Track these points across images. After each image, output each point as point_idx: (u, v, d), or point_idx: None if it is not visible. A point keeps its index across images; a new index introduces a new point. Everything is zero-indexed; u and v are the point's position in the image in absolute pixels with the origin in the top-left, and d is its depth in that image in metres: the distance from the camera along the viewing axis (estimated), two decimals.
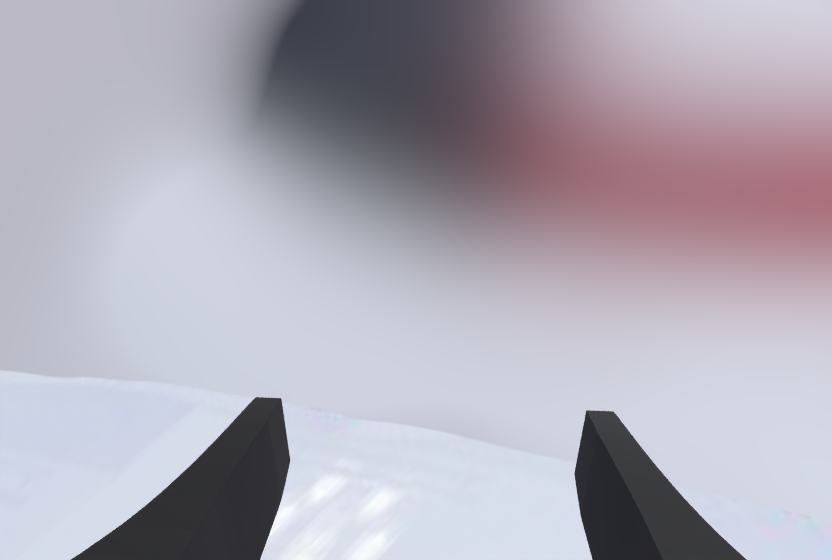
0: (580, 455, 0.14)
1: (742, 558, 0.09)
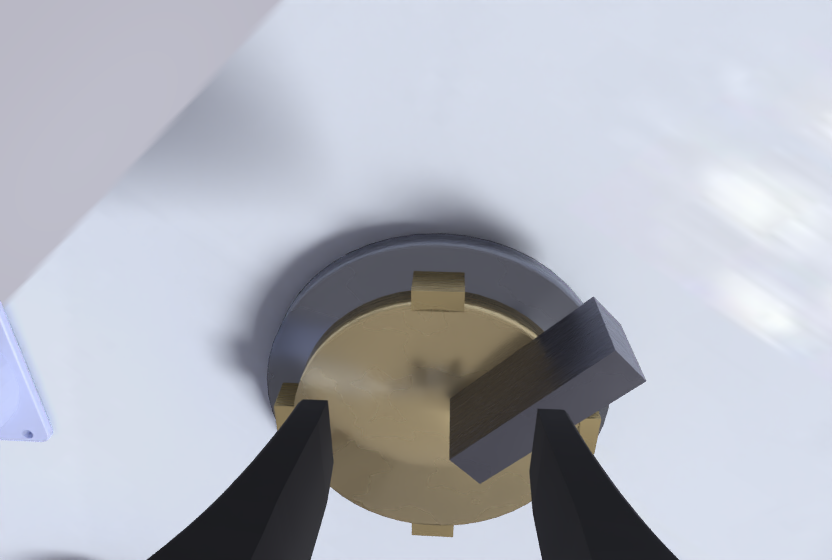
0: (533, 453, 0.14)
1: (670, 554, 0.09)
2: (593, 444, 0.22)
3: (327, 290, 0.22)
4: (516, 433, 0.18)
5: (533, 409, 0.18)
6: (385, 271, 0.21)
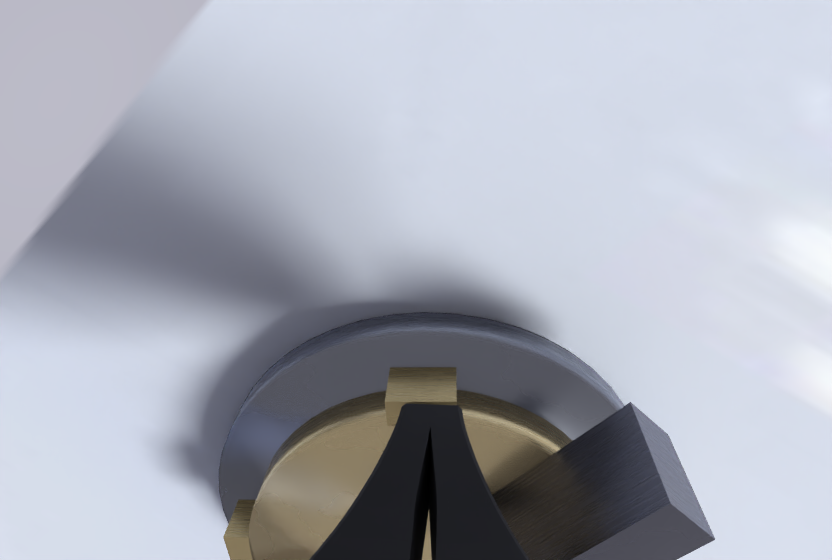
0: None
1: (515, 546, 0.09)
2: None
3: (282, 391, 0.17)
4: None
5: None
6: (354, 367, 0.16)
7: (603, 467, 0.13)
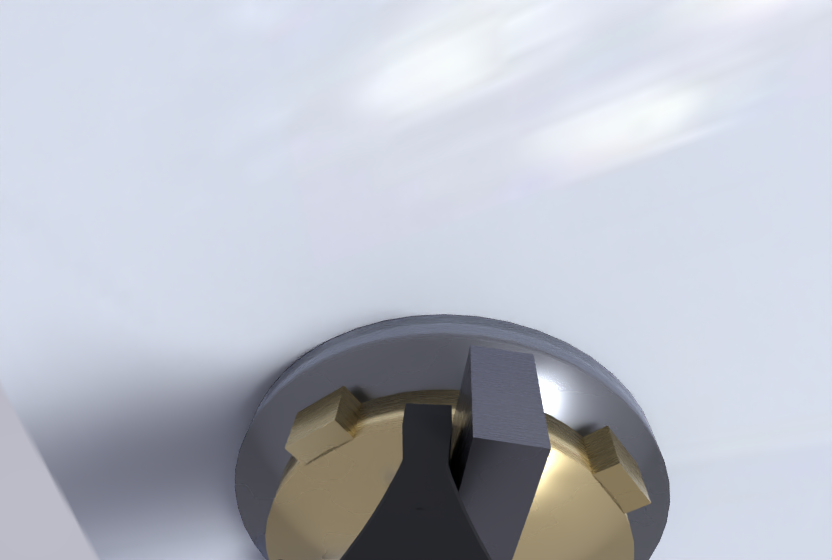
0: None
1: (477, 544, 0.09)
2: (640, 493, 0.16)
3: (251, 511, 0.20)
4: None
5: None
6: (259, 463, 0.18)
7: (461, 421, 0.13)
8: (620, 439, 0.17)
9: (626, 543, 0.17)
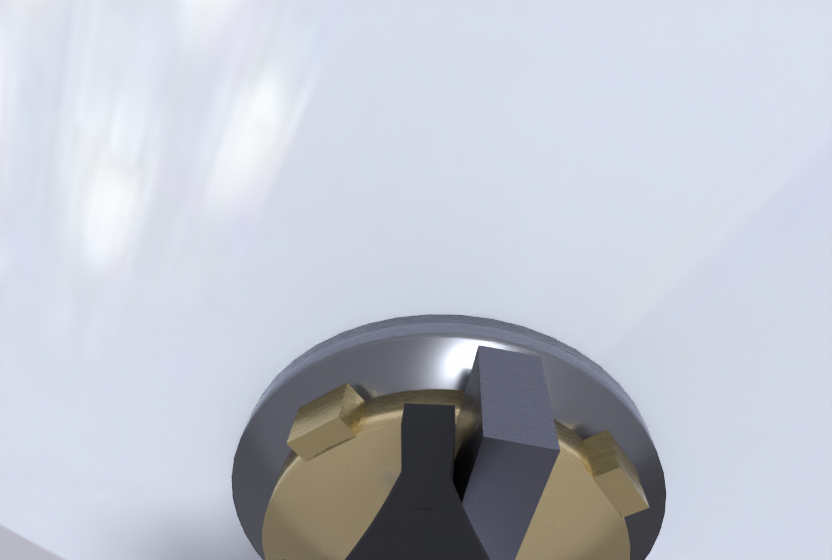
0: None
1: (475, 544, 0.09)
2: (639, 497, 0.16)
3: None
4: None
5: None
6: None
7: (468, 420, 0.13)
8: None
9: (622, 547, 0.17)
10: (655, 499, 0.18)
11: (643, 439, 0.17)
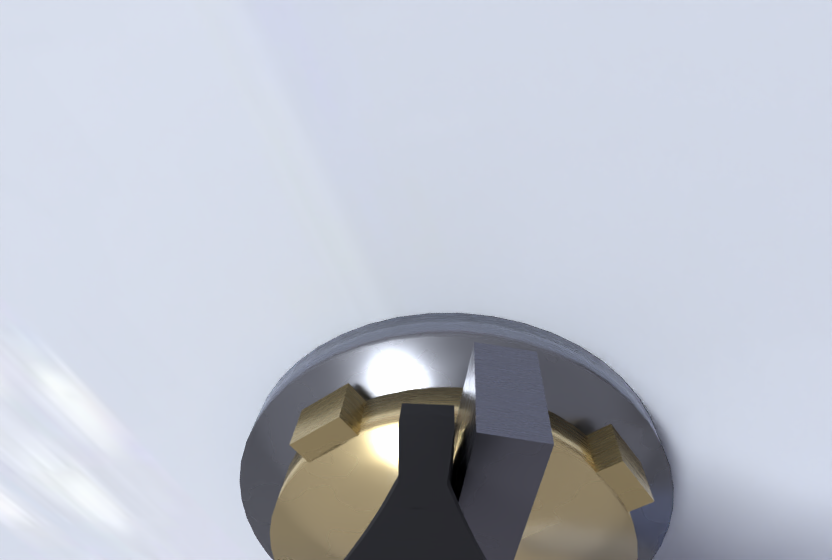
0: None
1: (471, 544, 0.09)
2: (643, 491, 0.16)
3: None
4: None
5: None
6: None
7: (465, 417, 0.13)
8: (315, 398, 0.17)
9: (629, 542, 0.17)
10: (559, 368, 0.16)
11: (468, 342, 0.16)
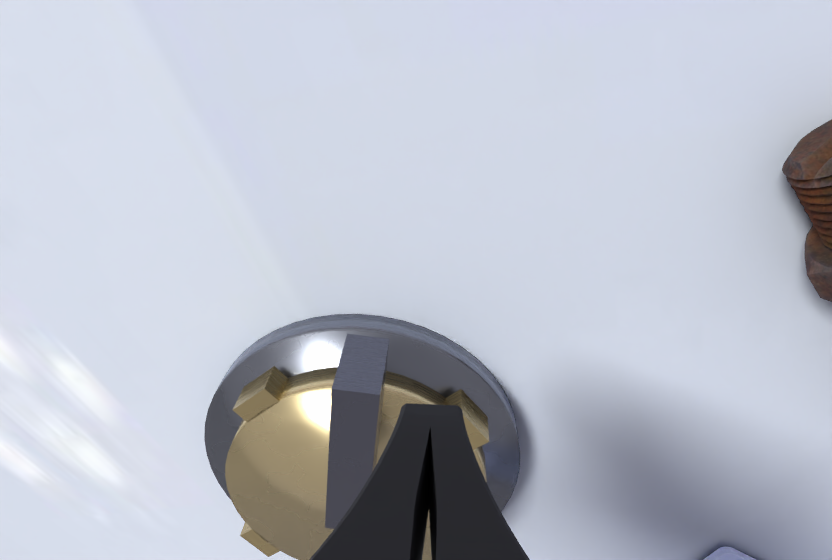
0: None
1: (515, 546, 0.09)
2: (480, 434, 0.22)
3: None
4: (343, 484, 0.20)
5: (332, 461, 0.19)
6: None
7: None
8: (256, 376, 0.24)
9: None
10: (424, 352, 0.23)
11: None
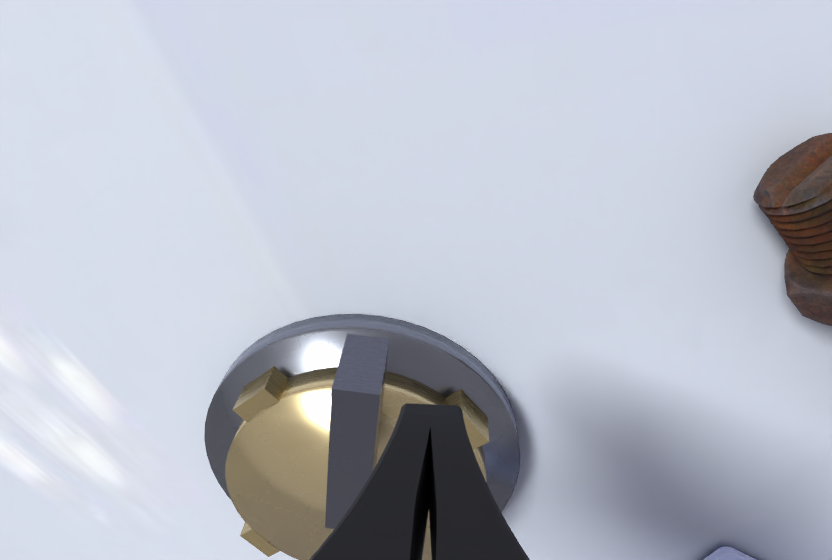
0: None
1: (515, 546, 0.09)
2: (480, 434, 0.22)
3: None
4: (343, 484, 0.20)
5: (332, 461, 0.19)
6: None
7: None
8: (256, 376, 0.24)
9: None
10: (424, 352, 0.23)
11: None
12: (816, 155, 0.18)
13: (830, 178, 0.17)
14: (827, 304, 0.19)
